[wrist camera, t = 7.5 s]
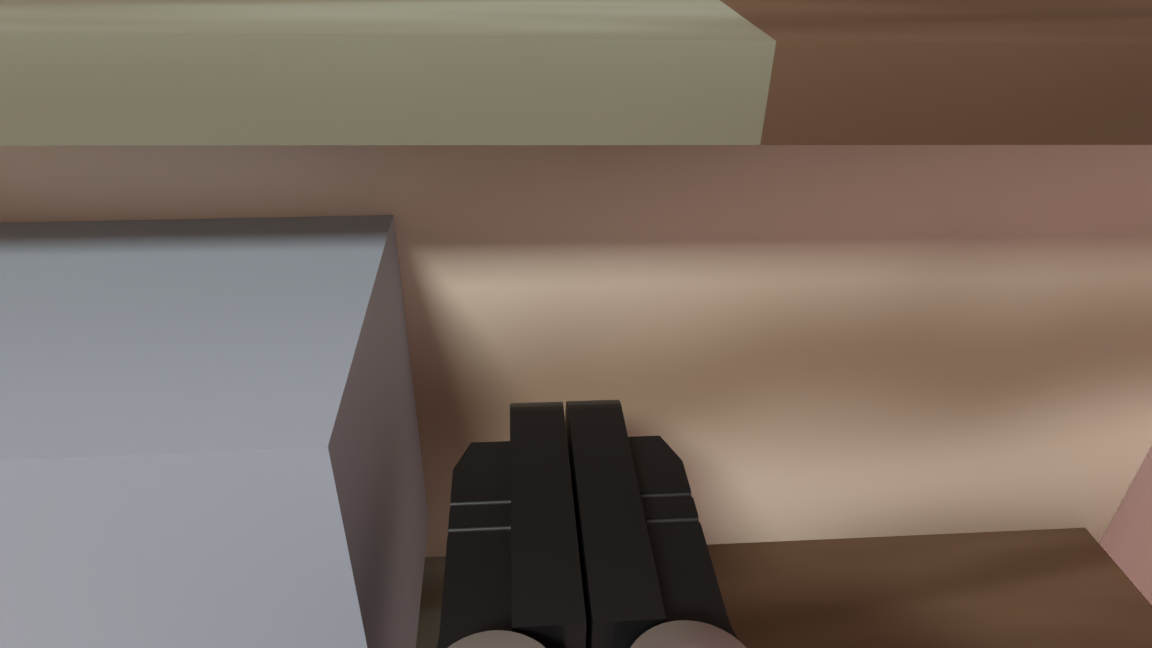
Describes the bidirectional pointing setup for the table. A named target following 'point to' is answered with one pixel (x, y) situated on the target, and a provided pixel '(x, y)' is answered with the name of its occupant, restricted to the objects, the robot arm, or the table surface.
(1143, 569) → the table surface
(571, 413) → the robot arm
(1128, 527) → the table surface
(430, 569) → the track
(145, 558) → the slate block
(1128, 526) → the table surface
